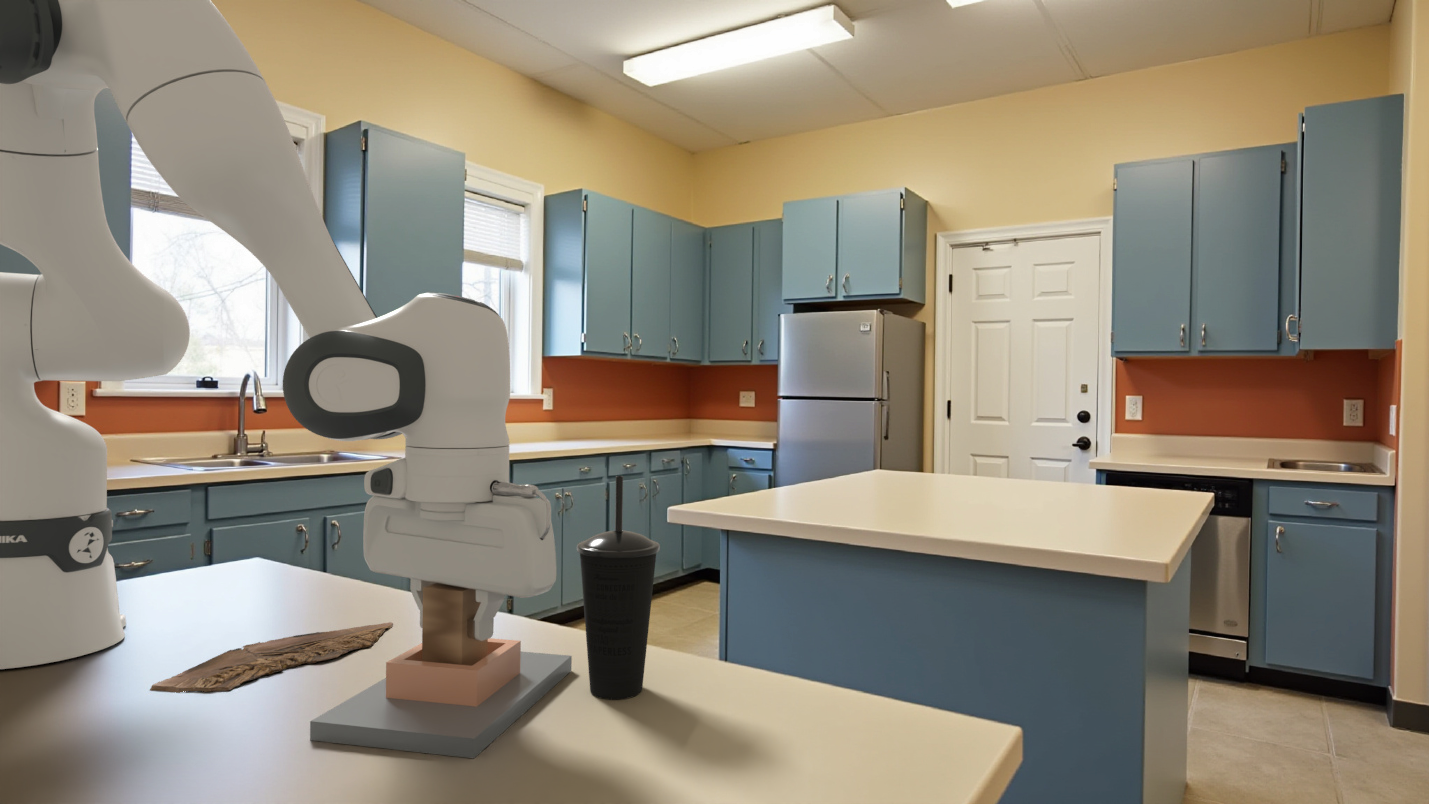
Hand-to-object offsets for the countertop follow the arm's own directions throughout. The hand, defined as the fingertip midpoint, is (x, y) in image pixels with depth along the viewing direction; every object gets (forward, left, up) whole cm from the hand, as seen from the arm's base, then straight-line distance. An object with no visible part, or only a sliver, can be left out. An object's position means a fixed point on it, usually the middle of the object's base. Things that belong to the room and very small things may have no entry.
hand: (455, 633), depth 73 cm
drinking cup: (+13, +6, -6) cm, 16 cm away
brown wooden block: (0, 0, -4) cm, 4 cm away
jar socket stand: (0, 0, -6) cm, 6 cm away
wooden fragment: (-23, +8, -7) cm, 25 cm away
